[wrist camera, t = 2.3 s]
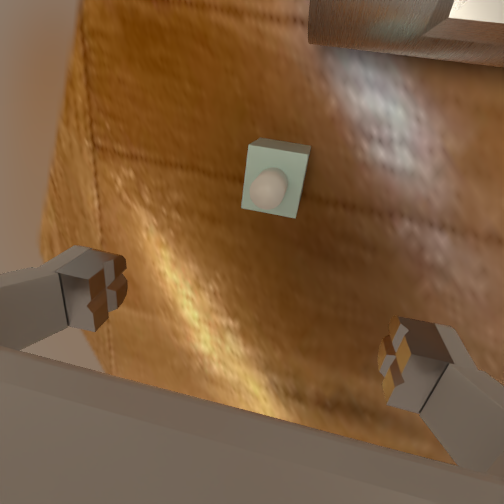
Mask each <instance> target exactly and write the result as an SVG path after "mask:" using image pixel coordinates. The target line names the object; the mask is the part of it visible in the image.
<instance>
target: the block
mask: <svg viewBox="0 0 504 504" xmlns="http://www.w3.org/2000/svg"><path fill="white" fill-rule="evenodd" d="M310 150H311V146H309V145H303V144H297V143H291V142H285V141H278V140H272V139H266V138H259V139H257V140H256V141H254V142H252V143H251V144H249V146H248V154H247V163H246V171H245V179H244V188H243V196H242V205H241V208H244V209H249V210H254V211H259V212H264V213H269V214H275V215H280V216H285V217H290V218H295V219H296V215H297V211H298V207H299V203H300V199H301V194H302V189H303V184H304V179H305V174H306V169H307V165H308V160H309V155H310Z"/></svg>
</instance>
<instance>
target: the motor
mask: <svg viewBox="0 0 504 504" xmlns="http://www.w3.org/2000/svg"><path fill="white" fill-rule="evenodd" d="M308 43H309V44H315V45H323V46H331V47H339V48H348V49H356V50H364V51H372V52H380V53H389V54H397V55H405V56H413V57H421V58H429V59H438V60H446V61H454V62H462V63H470V64H478V65H487V66H495V67H503V68H504V0H310V7H309V21H308Z"/></svg>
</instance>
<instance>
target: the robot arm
mask: <svg viewBox="0 0 504 504" xmlns="http://www.w3.org/2000/svg"><path fill="white" fill-rule="evenodd" d="M126 269H127V267H126V259H125V258H124V257H123V256H122V255H118V254H114V253H110V252H106V251H101V250H97V249H92V248H89V247H84V246H73V247H71V248H69V249H68V250H66V251H64V252H63V253H61V254H59V255H58V256H56V257H55V258H53V259H51V260H50V261H48V262H46V263H45V264H43V265H41V266H40V267H38V268H33V267H31V268H26V269H22V270H16V271H12V272H7V273H3V274H0V504H504V386H503V385H501V384H500V383H499V382H498V381H496V380H495V379H494V378H492V377H491V376H490V375H488V374H487V373H486V372H484V371H480V370H478V369H477V367H476V365H475V364H474V362H473V360H472V358H471V357H470V355H469V353H468V351H467V350H466V348H465V346H464V345H463V343H462V341H461V339H460V338H459V336H458V334H457V332H456V331H455V329H454V328H452V327H451V326H447V325H442V324H436V323H430V322H425V321H419V320H414V319H409V318H404V317H399V316H393V317H392V319H391V320H390V322H389V325H388V330H389V333H390V335H388V336H386V337H384V338H383V339H382V341H381V344H380V347H379V351H378V368H379V372H380V373H381V374H382V375H383V376H384V377H385V378H384V380H383V383H382V387H383V392H384V396H385V401H386V405H389V406H393V407H397V408H400V409H404V410H407V411H411V412H415V413H418V414H420V415H419V416H420V417H421V418H422V420H423V421H424V422H425V423H426V425H427V426H428V427H429V429H430V430H431V431H432V433H433V434H434V435H435V436H436V438H437V439H438V440H439V442H440V443H441V444H442V446H443V447H444V448H445V449H446V451H447V452H448V453H449V455H450V456H451V457H452V459H453V460H454V461H455V462H456V464H457V465H458V466H455V465H451V464H448V463H444V462H440V461H436V460H432V459H428V458H425V457H421V456H417V455H413V454H409V453H405V452H402V451H398V450H394V449H390V448H386V447H382V446H378V445H375V444H371V443H367V442H363V441H360V440H356V439H352V438H348V437H345V436H341V435H337V434H333V433H330V432H326V431H322V430H318V429H315V428H311V427H307V426H303V425H300V424H296V423H292V422H288V421H284V420H281V419H277V418H273V417H269V416H266V415H262V414H258V413H254V412H251V411H247V410H243V409H239V408H235V407H232V406H228V405H224V404H220V403H216V402H213V401H209V400H205V399H201V398H197V397H194V396H190V395H186V394H182V393H178V392H175V391H171V390H167V389H163V388H159V387H155V386H152V385H148V384H144V383H140V382H136V381H133V380H129V379H125V378H121V377H117V376H114V375H110V374H106V373H102V372H98V371H95V370H91V369H87V368H83V367H80V366H75V365H72V364H68V363H64V362H61V361H56V360H53V359H49V358H45V357H42V356H38V355H34V354H30V353H26V352H22V351H19V350H21V349H23V348H26V347H28V346H30V345H32V344H34V343H36V342H38V341H40V340H42V339H45V338H47V337H49V336H51V335H53V334H55V333H57V332H59V331H61V330H64V329H66V328H67V327H68V326H70V327H75V328H79V329H84V330H88V331H93V332H96V331H97V330H98V328H99V327H100V326H101V325H102V324H103V323H104V322H105V321H106V320H107V319H108V318H109V315H108V312H110V311H113V310H115V309H118V307H119V306H120V305H121V304H122V303H123V301H124V299H125V297H126V294H127V288H128V283H127V279H126V278H125V276H124V275H123V274H122V273H123V272H124V271H125V270H126Z"/></svg>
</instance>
